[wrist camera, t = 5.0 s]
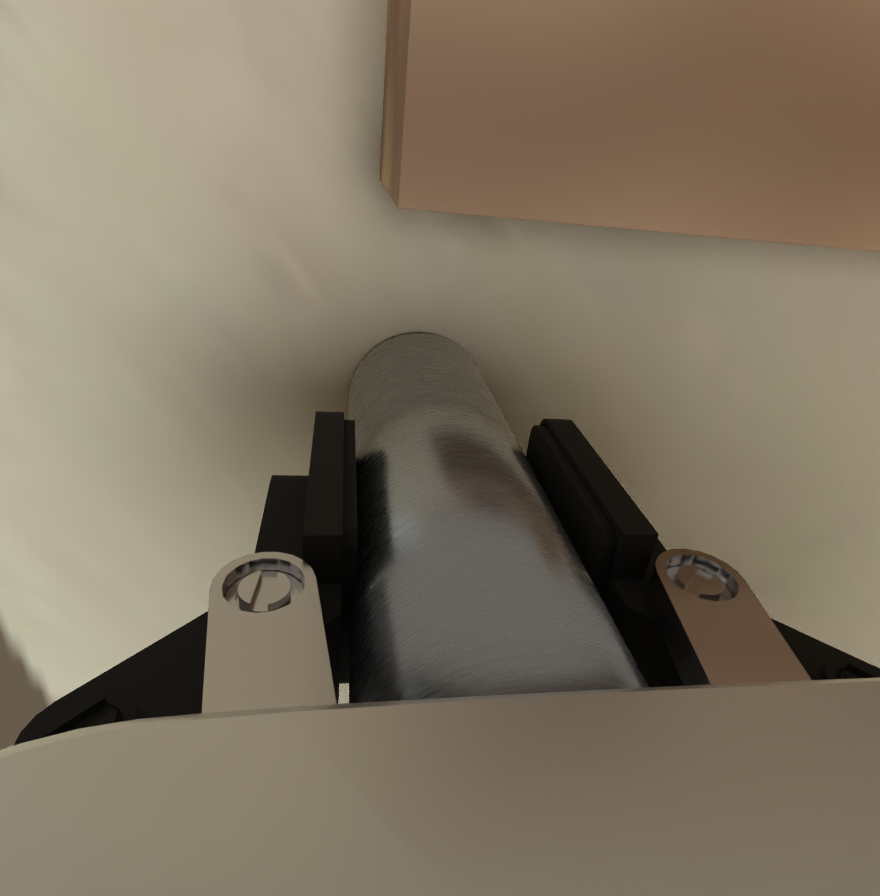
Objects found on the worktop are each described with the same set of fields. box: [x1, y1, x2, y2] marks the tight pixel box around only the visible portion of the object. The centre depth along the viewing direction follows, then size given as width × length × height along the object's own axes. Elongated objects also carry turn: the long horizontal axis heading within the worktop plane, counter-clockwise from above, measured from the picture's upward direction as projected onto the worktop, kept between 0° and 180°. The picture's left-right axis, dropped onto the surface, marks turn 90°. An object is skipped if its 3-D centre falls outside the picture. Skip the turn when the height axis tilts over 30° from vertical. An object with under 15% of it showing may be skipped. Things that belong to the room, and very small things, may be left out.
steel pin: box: [349, 333, 649, 703], centre depth 11 cm, size 4×4×11 cm
